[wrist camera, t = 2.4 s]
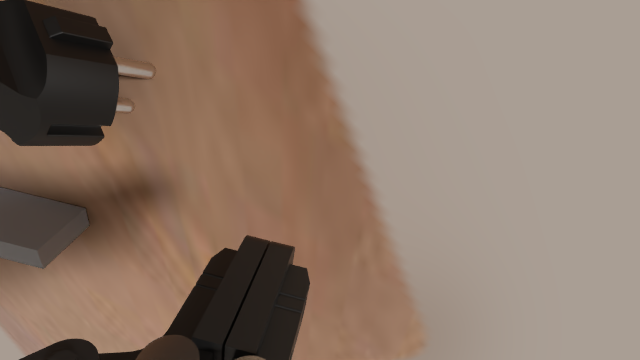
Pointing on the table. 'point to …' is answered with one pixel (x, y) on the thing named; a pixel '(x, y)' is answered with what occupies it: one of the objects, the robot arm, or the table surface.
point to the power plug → (59, 76)
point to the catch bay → (37, 227)
